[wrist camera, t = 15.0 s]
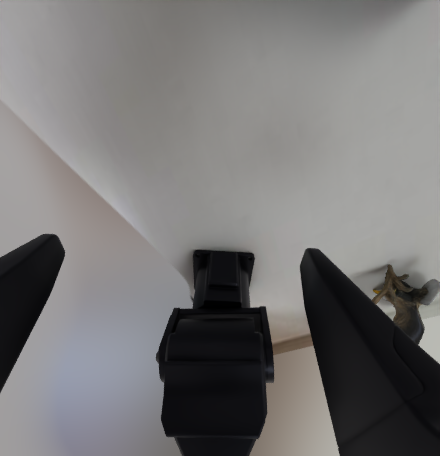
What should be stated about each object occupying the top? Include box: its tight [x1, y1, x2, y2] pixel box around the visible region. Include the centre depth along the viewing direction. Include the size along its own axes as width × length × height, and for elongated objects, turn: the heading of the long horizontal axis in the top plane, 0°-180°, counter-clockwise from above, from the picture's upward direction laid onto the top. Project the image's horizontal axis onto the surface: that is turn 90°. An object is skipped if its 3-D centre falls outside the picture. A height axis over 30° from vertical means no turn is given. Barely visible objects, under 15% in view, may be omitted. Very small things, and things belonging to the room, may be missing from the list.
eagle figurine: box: [372, 264, 440, 345], centre depth 28 cm, size 8×7×9 cm
